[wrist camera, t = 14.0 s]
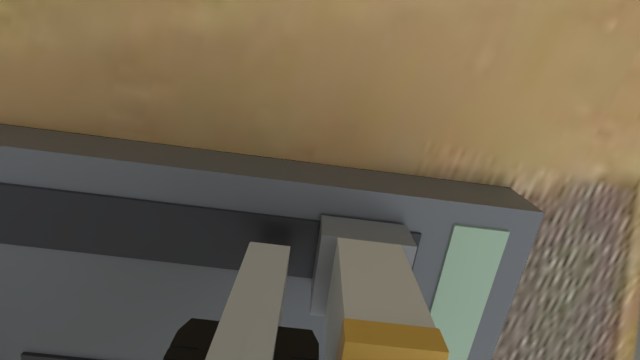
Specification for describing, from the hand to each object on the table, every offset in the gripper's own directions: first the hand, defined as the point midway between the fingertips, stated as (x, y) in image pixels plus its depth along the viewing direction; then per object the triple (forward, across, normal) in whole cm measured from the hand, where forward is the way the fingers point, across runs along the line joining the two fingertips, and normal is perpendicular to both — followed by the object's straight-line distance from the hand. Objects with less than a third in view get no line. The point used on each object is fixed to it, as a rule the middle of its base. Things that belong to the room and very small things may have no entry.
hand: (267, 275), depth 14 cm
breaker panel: (+5, -3, -4) cm, 8 cm away
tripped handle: (+2, +4, 0) cm, 4 cm away
